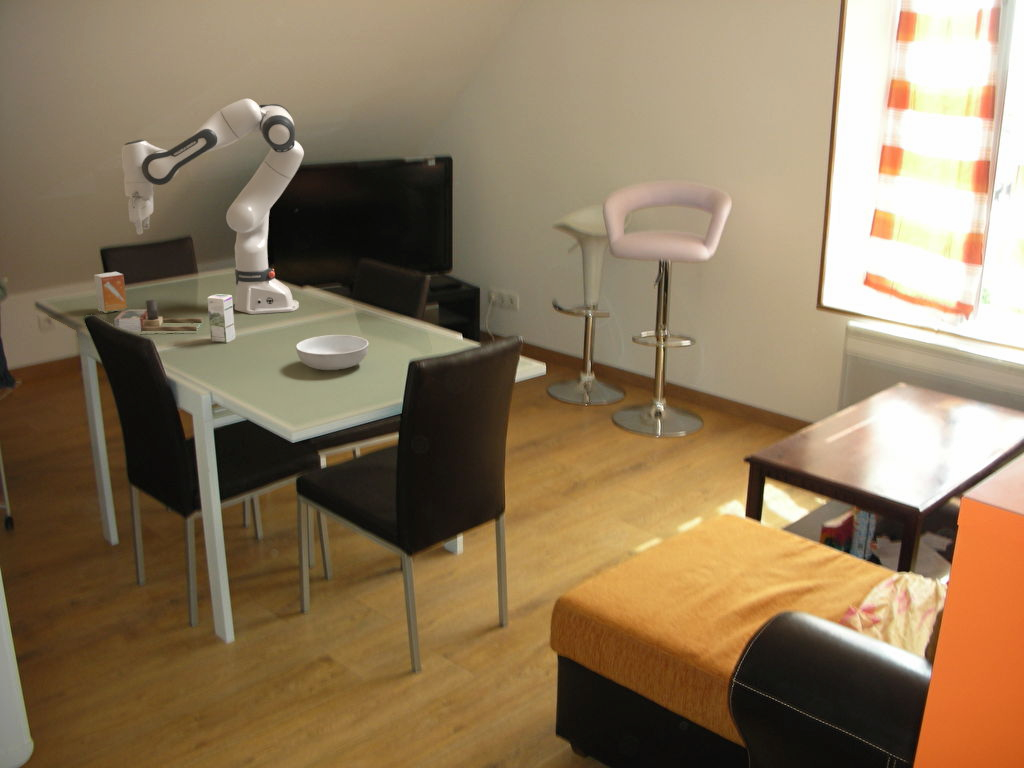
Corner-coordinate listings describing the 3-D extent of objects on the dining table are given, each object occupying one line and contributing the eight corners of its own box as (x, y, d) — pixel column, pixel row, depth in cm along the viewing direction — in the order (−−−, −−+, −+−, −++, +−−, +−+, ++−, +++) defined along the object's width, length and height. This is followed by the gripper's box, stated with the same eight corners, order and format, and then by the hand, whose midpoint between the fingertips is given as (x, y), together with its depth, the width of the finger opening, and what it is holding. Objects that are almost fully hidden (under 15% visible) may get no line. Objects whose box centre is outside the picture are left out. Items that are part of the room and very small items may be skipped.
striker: (164, 324, 349) (161, 298, 346) (159, 330, 341) (156, 303, 339) (144, 324, 348) (142, 298, 345) (139, 330, 341) (136, 303, 338)
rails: (202, 322, 352) (201, 318, 351) (196, 331, 341) (196, 326, 341) (146, 323, 350) (146, 319, 349) (139, 332, 339) (139, 327, 339)
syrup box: (236, 338, 334) (232, 294, 330) (226, 343, 329) (222, 298, 324) (220, 337, 336) (216, 292, 331) (210, 341, 330) (206, 297, 326)
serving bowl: (336, 352, 321) (335, 330, 319) (383, 365, 309) (383, 342, 306) (282, 367, 306) (280, 344, 304) (330, 381, 293) (328, 358, 291)
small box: (105, 314, 362) (100, 277, 358) (97, 310, 367) (93, 274, 363) (127, 310, 368) (123, 274, 364) (119, 307, 372) (115, 271, 368)
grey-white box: (149, 323, 351) (148, 309, 349) (141, 334, 338) (139, 319, 337) (125, 324, 350) (123, 309, 348) (115, 334, 338) (114, 319, 336)
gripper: (141, 194, 338) (146, 236, 343) (155, 186, 358) (159, 226, 362) (121, 194, 338) (126, 237, 342) (136, 186, 357) (140, 226, 361)
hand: (143, 231), depth 352 cm, fingers open, 8 cm apart
